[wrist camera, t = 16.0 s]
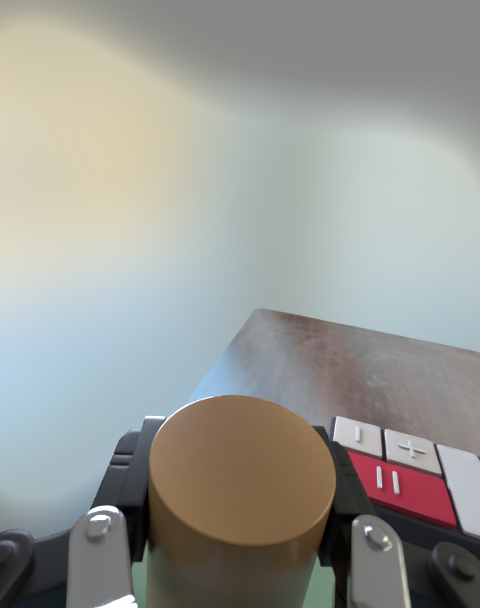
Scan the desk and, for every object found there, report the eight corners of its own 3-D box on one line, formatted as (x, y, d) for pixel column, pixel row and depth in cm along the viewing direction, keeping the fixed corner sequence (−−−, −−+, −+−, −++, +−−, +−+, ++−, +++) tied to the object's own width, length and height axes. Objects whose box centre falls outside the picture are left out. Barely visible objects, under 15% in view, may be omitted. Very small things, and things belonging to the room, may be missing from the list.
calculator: (332, 410, 37) (482, 449, 33) (327, 439, 39) (469, 481, 34) (322, 483, 28) (533, 554, 23) (315, 519, 29) (513, 593, 24)
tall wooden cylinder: (156, 809, 9) (169, 585, 6) (137, 601, 14) (138, 407, 10) (307, 711, 11) (380, 504, 8) (247, 558, 16) (278, 385, 12)
